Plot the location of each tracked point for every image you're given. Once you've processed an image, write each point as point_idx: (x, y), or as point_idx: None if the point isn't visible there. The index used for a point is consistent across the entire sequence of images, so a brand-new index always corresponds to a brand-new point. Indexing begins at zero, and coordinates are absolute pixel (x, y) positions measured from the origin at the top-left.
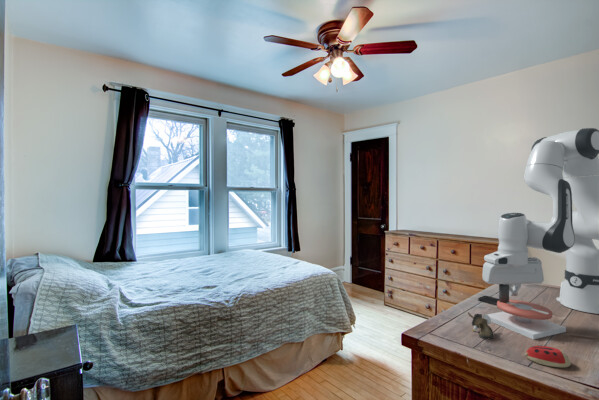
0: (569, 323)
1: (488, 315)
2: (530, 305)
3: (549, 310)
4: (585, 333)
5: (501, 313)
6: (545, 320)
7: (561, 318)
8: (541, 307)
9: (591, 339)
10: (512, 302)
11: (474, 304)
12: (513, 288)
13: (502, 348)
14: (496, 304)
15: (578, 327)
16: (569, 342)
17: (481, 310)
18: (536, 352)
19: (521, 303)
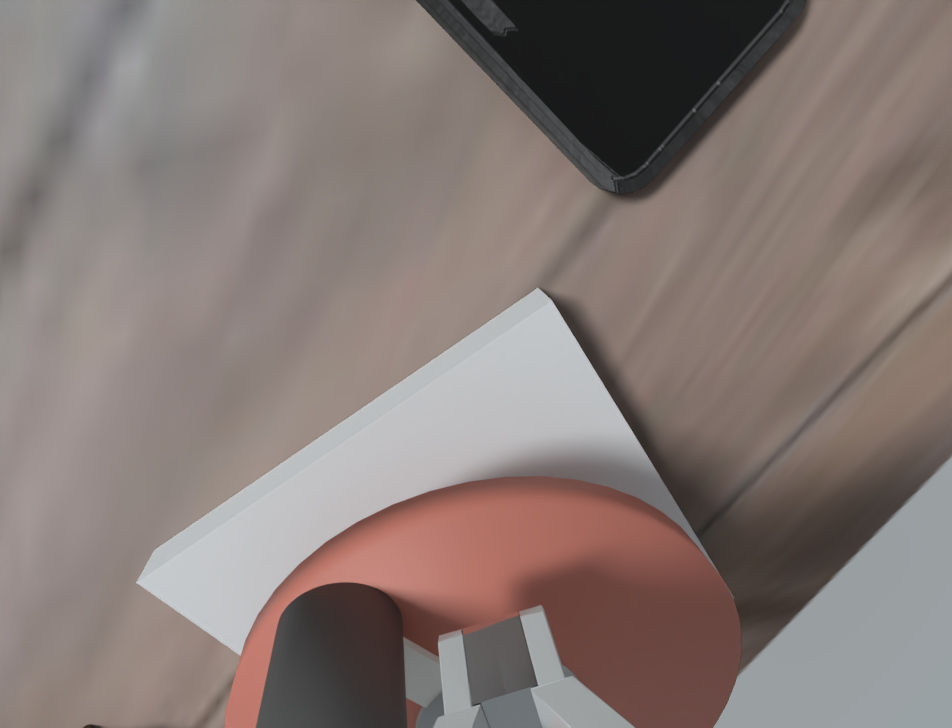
0: (874, 401)
1: (177, 583)
2: (615, 643)
3: (715, 705)
4: (823, 551)
5: (336, 484)
6: (675, 521)
7: (910, 296)
8: (696, 658)
9: (779, 624)
10: (447, 618)
11: (77, 37)
12: (555, 723)
13: None
14: (424, 6)
15: (870, 463)
16: None
17: (158, 299)
18: None
19: (547, 615)
